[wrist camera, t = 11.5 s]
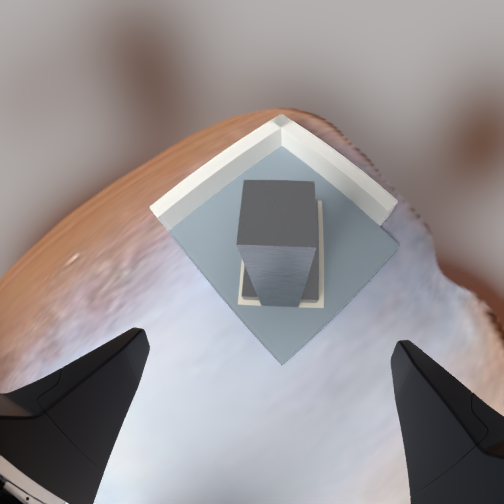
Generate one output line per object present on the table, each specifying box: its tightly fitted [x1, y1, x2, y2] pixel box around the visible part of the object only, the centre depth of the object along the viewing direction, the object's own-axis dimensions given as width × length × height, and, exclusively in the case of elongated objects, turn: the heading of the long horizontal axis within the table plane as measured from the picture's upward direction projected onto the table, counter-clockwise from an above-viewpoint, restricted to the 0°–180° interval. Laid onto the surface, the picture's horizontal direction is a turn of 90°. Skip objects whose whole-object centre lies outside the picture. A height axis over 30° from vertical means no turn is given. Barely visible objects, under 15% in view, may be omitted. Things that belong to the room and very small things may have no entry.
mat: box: [169, 146, 400, 365], centre depth 23 cm, size 14×15×1 cm
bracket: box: [236, 180, 319, 307], centre depth 17 cm, size 9×6×12 cm, turn 175°
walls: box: [149, 114, 398, 231], centre depth 23 cm, size 16×14×3 cm
